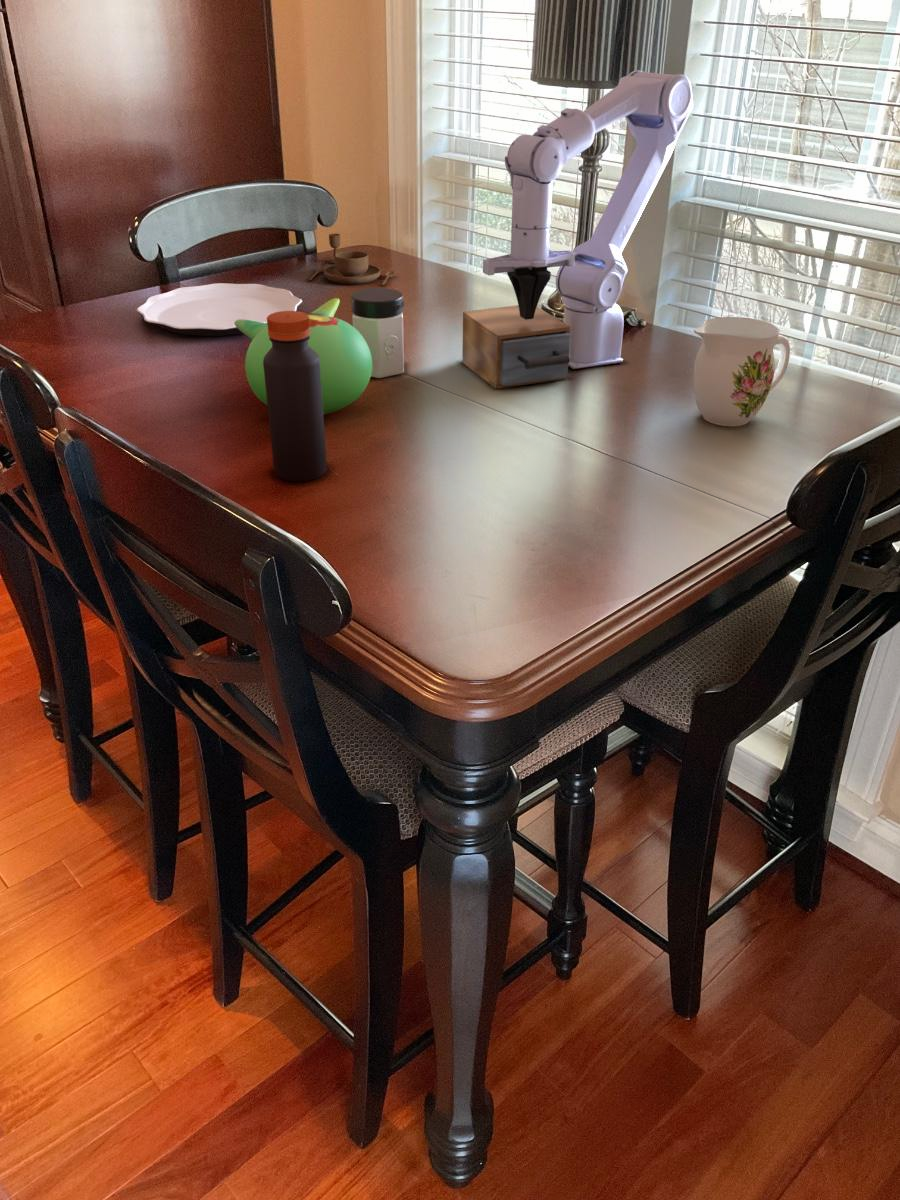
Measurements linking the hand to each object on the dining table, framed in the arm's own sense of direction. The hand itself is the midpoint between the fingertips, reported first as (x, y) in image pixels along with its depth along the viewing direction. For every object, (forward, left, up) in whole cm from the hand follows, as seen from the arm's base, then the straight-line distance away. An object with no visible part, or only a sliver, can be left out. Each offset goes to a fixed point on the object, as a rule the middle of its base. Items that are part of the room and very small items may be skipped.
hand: (526, 317), depth 151 cm
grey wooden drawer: (+1, +1, -9) cm, 9 cm away
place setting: (+6, -70, -10) cm, 71 cm away
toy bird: (+36, +2, -10) cm, 37 cm away
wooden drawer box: (+1, -3, -9) cm, 10 cm away
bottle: (+43, +22, -10) cm, 49 cm away
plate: (+39, -49, -10) cm, 63 cm away
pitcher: (-20, +27, -10) cm, 35 cm away
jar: (+21, -11, -10) cm, 25 cm away
